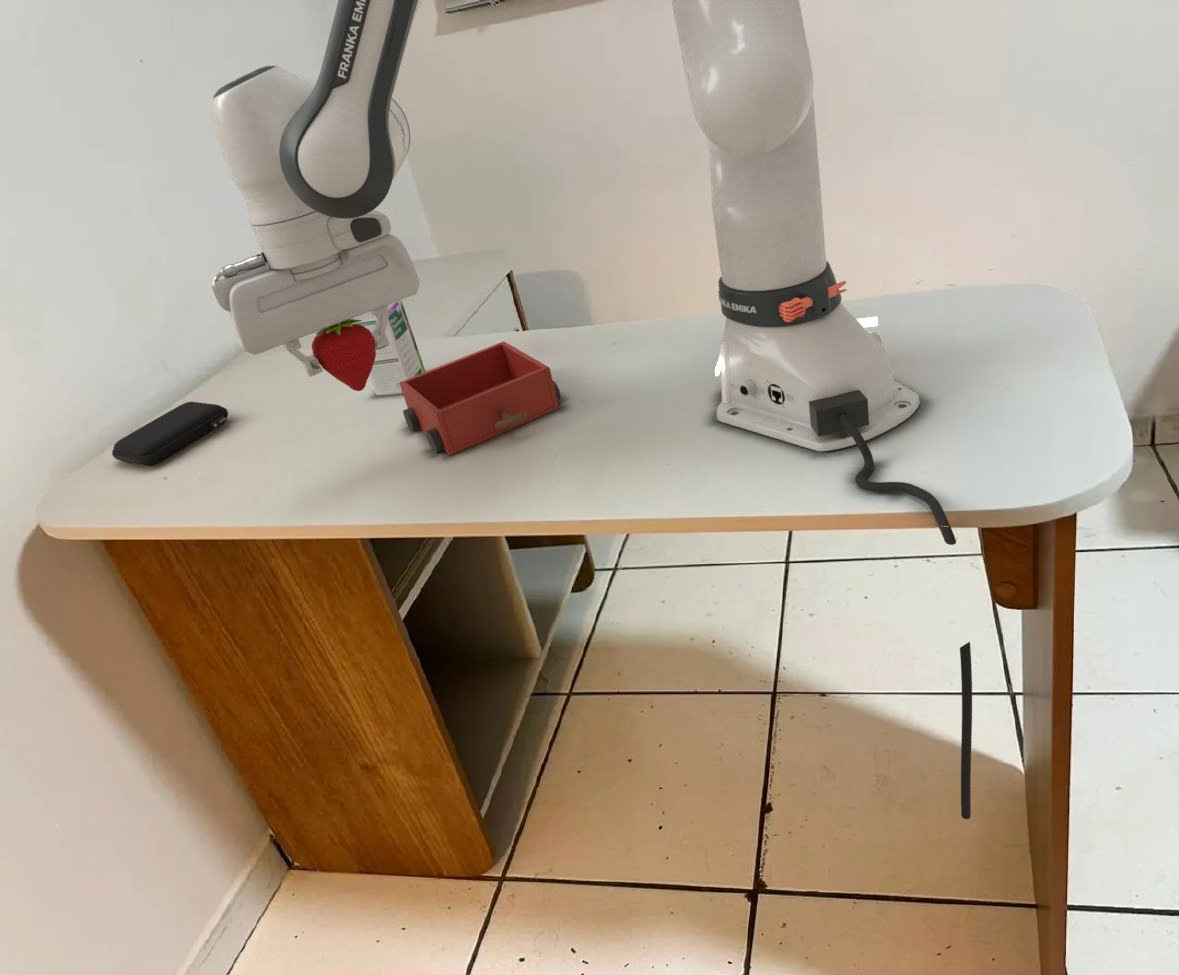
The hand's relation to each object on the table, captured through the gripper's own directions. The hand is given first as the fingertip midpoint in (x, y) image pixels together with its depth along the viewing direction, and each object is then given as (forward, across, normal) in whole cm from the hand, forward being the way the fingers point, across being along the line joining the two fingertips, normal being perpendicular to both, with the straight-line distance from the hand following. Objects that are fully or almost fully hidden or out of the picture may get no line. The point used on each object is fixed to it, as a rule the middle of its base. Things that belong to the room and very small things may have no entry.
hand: (349, 359), depth 104 cm
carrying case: (+13, -21, +33) cm, 41 cm away
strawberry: (+4, 0, 0) cm, 4 cm away
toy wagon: (+14, +14, +1) cm, 20 cm away
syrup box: (+14, +9, +22) cm, 28 cm away
